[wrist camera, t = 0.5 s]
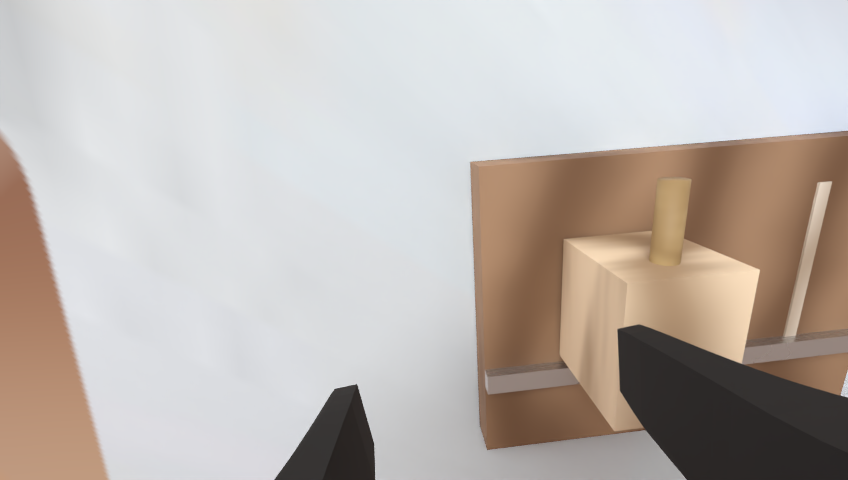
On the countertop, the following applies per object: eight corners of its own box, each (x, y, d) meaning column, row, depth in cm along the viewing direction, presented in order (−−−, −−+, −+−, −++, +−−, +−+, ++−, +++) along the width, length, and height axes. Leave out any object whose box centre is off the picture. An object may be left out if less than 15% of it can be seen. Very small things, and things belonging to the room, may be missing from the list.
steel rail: (860, 327, 21) (873, 332, 20) (855, 343, 21) (868, 350, 21) (484, 369, 20) (487, 377, 19) (485, 386, 20) (488, 394, 19)
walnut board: (870, 129, 20) (919, 130, 18) (805, 385, 24) (839, 407, 22) (470, 161, 18) (479, 166, 17) (479, 424, 23) (487, 451, 21)
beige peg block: (669, 162, 17) (777, 180, 12) (649, 344, 20) (731, 416, 15) (566, 171, 17) (635, 193, 12) (559, 355, 20) (614, 431, 15)
